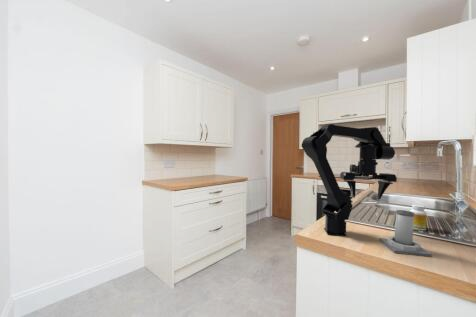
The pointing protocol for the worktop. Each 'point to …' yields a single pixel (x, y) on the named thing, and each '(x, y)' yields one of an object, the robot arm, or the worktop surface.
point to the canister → (404, 227)
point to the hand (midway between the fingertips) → (366, 198)
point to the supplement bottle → (419, 217)
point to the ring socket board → (405, 247)
